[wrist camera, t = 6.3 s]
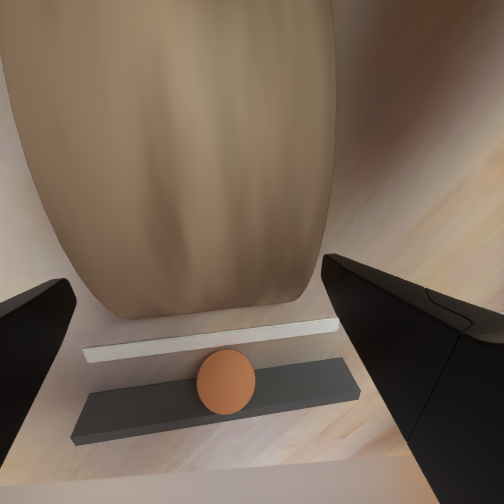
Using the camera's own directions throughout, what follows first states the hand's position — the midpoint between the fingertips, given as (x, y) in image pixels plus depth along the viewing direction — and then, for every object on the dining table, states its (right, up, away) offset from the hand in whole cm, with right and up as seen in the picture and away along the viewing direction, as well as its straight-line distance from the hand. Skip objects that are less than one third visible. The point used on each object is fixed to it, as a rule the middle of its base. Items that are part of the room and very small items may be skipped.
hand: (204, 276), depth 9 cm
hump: (-3, +13, +19) cm, 23 cm away
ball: (0, -8, +8) cm, 12 cm away
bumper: (-1, -9, +11) cm, 15 cm away
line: (-1, -5, +9) cm, 11 cm away
